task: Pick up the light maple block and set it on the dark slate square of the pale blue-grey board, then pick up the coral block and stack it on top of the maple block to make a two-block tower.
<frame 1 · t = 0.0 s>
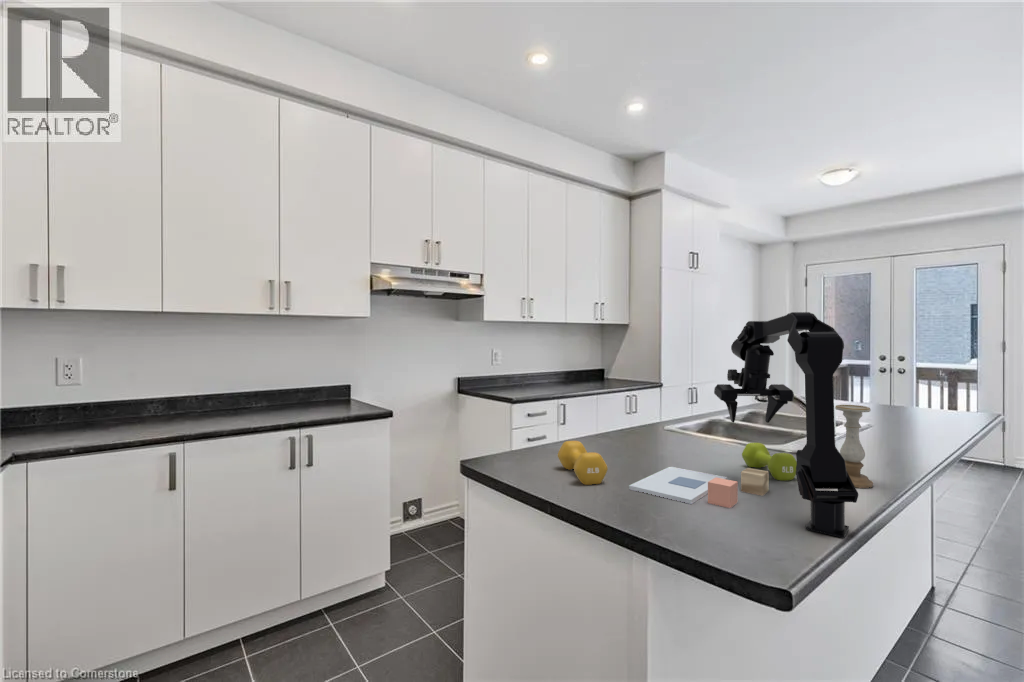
hand: (749, 422, 130), 15 cm above the worktop, tool pointing down, fingers open, 9 cm apart
dumbbell 2: (581, 476, 134), on the worktop
dumbbell: (768, 474, 136), on the worktop
candle holder: (852, 484, 126), on the worktop
coral block: (722, 503, 112), on the worktop
blueprint board: (679, 485, 125), on the worktop
maple block: (754, 491, 120), on the worktop
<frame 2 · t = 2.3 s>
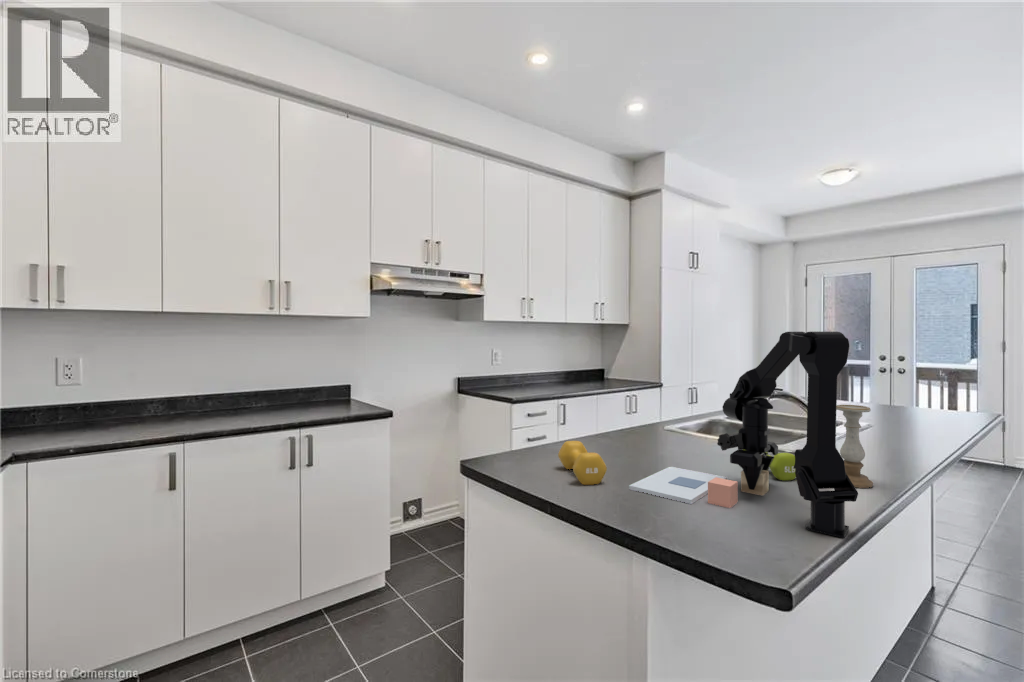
hand: (754, 486, 120), 1 cm above the worktop, tool pointing down, fingers closed on maple block, 5 cm apart
maple block: (754, 491, 120), on the worktop, touching gripper
everything else where it was.
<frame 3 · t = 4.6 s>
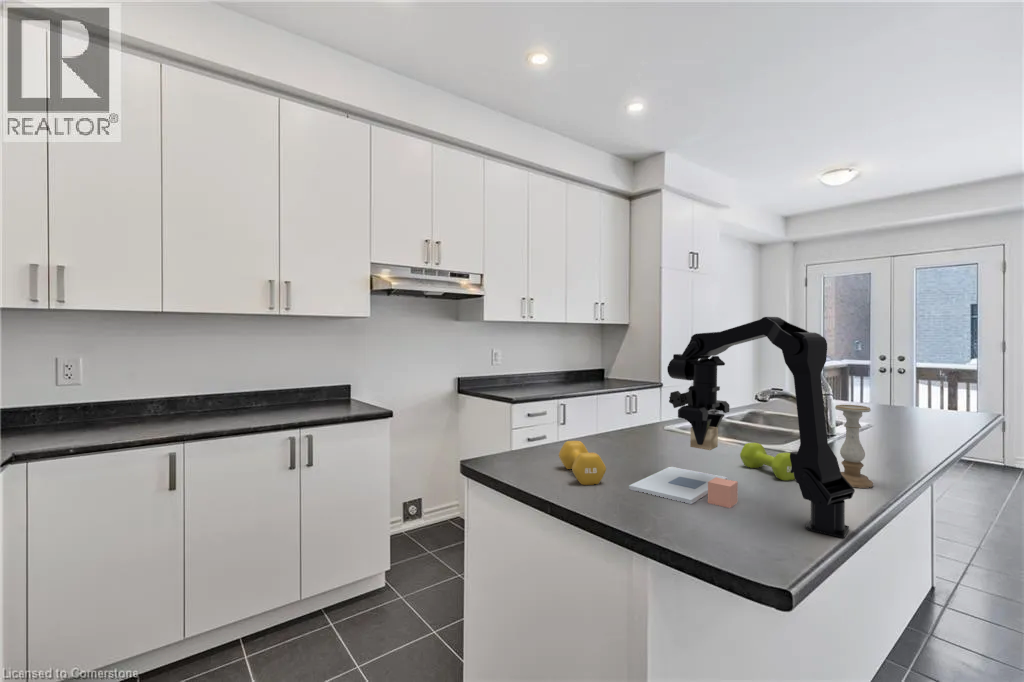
hand: (704, 442, 123), 11 cm above the worktop, tool pointing down, fingers closed on maple block, 5 cm apart
maple block: (704, 446, 123), point 10 cm above the worktop, touching gripper
everything else where it was.
when the fingers open (3 cm above the worktop, at t = 6.7 s): maple block drops 1 cm, resting on blueprint board.
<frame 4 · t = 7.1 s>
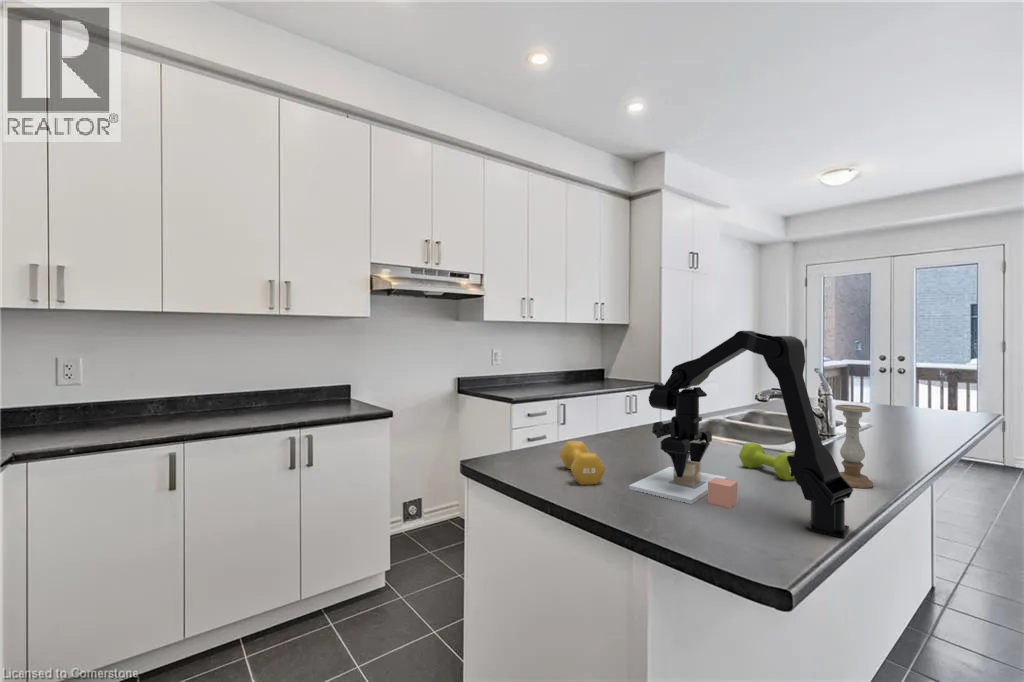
hand: (687, 473, 123), 3 cm above the worktop, tool pointing down, fingers open, 9 cm apart
maple block: (687, 482, 123), point 1 cm above the worktop, touching blueprint board
everything else where it was.
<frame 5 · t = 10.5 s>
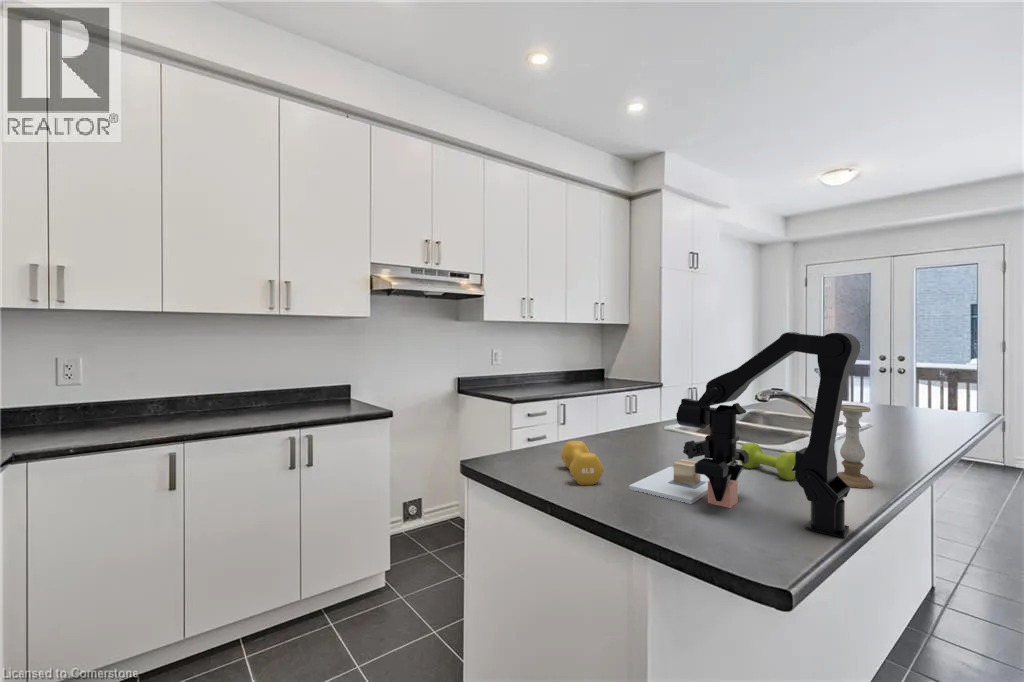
hand: (722, 498, 112), 1 cm above the worktop, tool pointing down, fingers closed on coral block, 5 cm apart
coral block: (722, 502, 112), on the worktop, touching gripper
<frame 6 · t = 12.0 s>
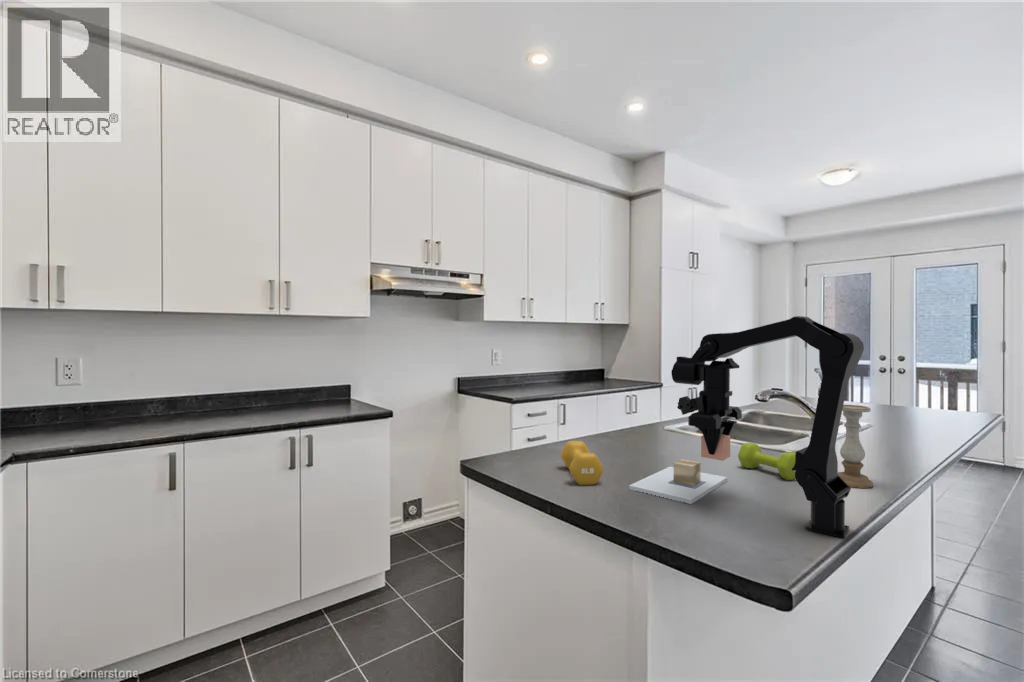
hand: (715, 452, 114), 11 cm above the worktop, tool pointing down, fingers closed on coral block, 5 cm apart
coral block: (715, 456, 114), point 10 cm above the worktop, touching gripper
when the fingers open (8 cm above the worktop, at t = 13.5 s): coral block drops 1 cm, resting on maple block.
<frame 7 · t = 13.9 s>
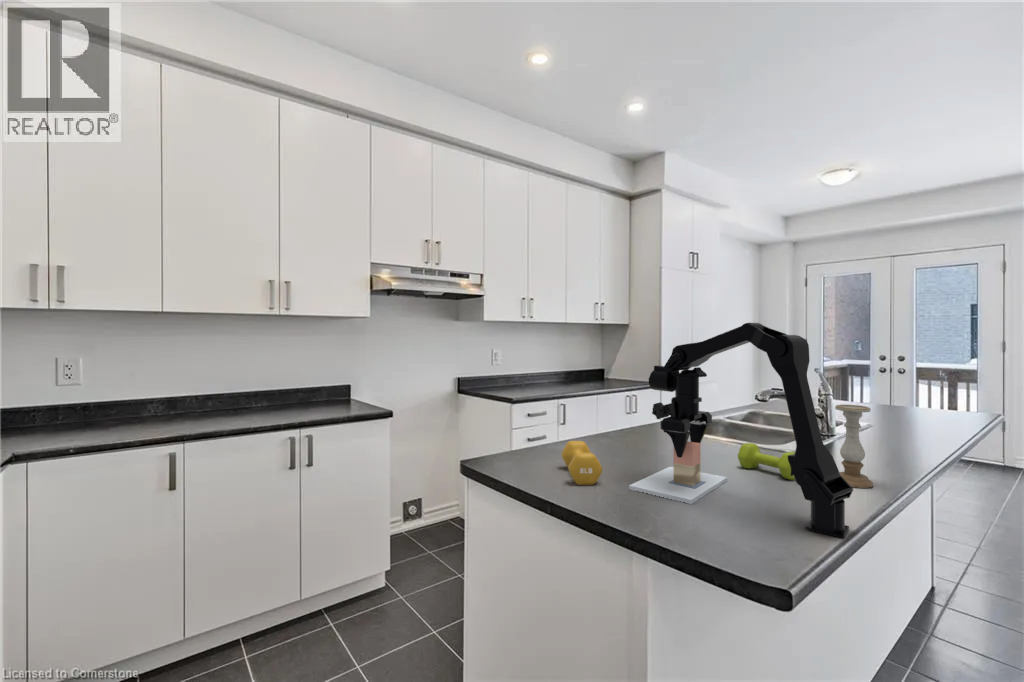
hand: (687, 453, 123), 8 cm above the worktop, tool pointing down, fingers open, 9 cm apart
coral block: (687, 462, 123), point 6 cm above the worktop, touching maple block
maple block: (687, 482, 123), point 1 cm above the worktop, touching blueprint board, coral block
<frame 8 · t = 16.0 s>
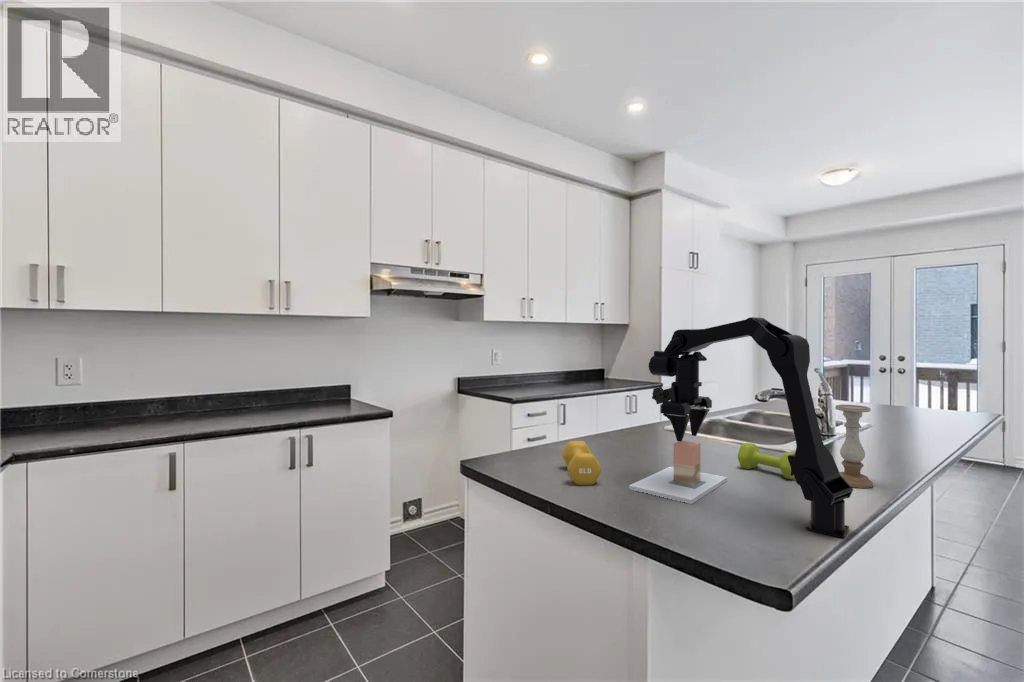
hand: (686, 438, 123), 13 cm above the worktop, tool pointing down, fingers open, 9 cm apart
at the end: maple block 0.0 cm from the target spot, point 1.2 cm above the worktop; coral block 0.0 cm off-centre on the maple block, point 5.0 cm above the maple block's base; coral block tilted 0° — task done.
